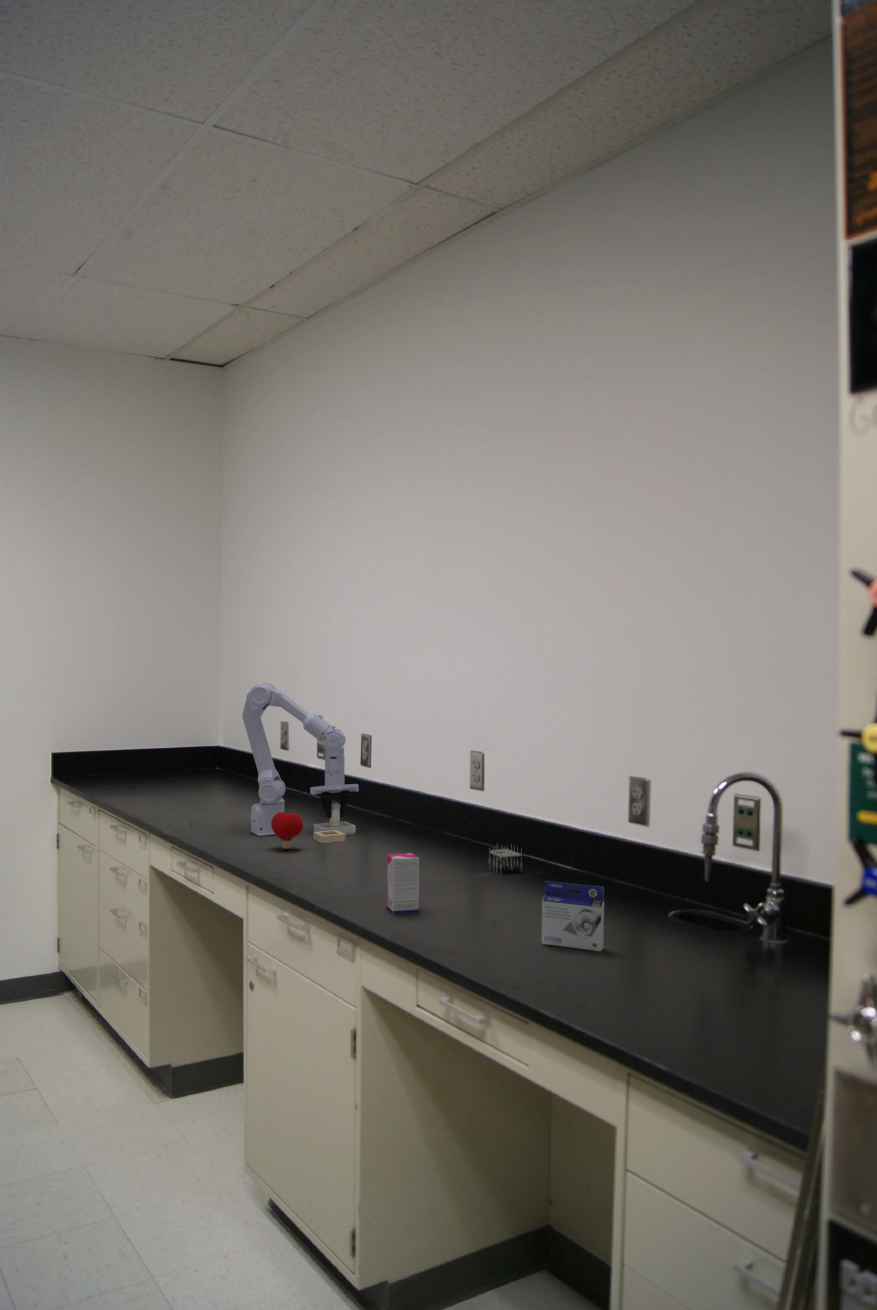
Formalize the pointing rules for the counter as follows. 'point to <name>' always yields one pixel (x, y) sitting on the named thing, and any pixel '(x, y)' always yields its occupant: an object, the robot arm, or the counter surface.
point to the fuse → (335, 815)
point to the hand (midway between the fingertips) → (334, 817)
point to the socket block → (329, 836)
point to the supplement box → (402, 883)
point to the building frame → (502, 854)
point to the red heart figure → (286, 827)
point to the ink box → (573, 916)
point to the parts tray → (336, 828)
